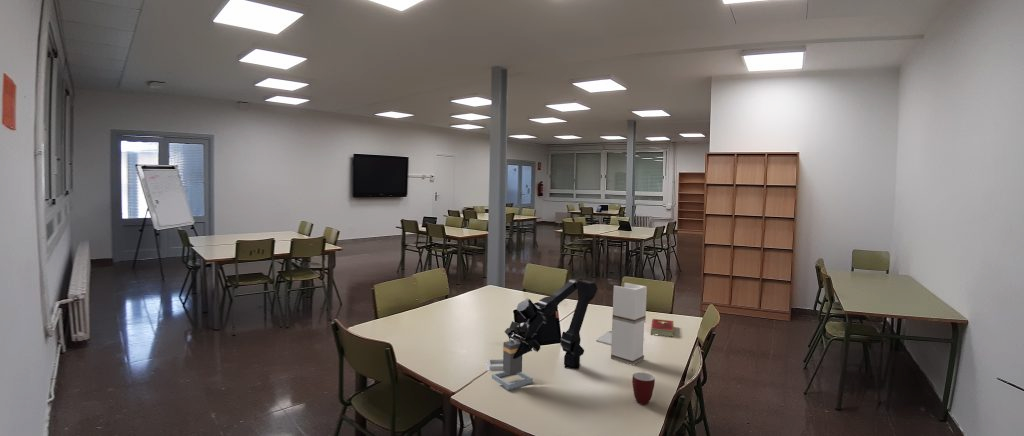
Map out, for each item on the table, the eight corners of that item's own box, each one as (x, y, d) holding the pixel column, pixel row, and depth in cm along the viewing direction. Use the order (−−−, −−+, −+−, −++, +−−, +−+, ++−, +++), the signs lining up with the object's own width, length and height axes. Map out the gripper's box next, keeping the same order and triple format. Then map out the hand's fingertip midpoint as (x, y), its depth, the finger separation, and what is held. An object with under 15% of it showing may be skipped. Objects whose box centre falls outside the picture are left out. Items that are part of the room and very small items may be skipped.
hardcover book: (650, 335, 263) (651, 328, 263) (651, 325, 283) (652, 318, 283) (673, 338, 259) (673, 330, 259) (673, 327, 279) (673, 320, 279)
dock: (511, 363, 215) (511, 358, 215) (514, 372, 205) (514, 366, 205) (484, 364, 213) (485, 358, 213) (486, 372, 203) (486, 367, 203)
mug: (635, 393, 187) (636, 368, 186) (656, 398, 183) (657, 372, 182) (629, 404, 177) (630, 378, 177) (651, 409, 174) (652, 382, 173)
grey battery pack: (514, 367, 198) (515, 336, 197) (522, 371, 194) (522, 339, 193) (502, 370, 195) (503, 338, 194) (509, 375, 190) (510, 342, 189)
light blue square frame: (515, 374, 203) (515, 368, 203) (532, 384, 193) (532, 378, 193) (491, 380, 196) (491, 374, 196) (508, 390, 186) (508, 384, 186)
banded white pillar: (643, 359, 224) (646, 286, 222) (632, 365, 216) (635, 289, 214) (622, 353, 232) (625, 282, 230) (610, 358, 224) (613, 285, 222)
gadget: (621, 349, 239) (621, 342, 239) (595, 342, 249) (596, 335, 249) (642, 339, 256) (643, 333, 255) (618, 333, 266) (618, 326, 266)
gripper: (508, 309, 202) (486, 338, 197) (535, 319, 187) (512, 352, 182) (522, 324, 208) (501, 353, 202) (550, 335, 192) (527, 367, 187)
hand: (510, 356), depth 193 cm, fingers closed on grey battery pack, 5 cm apart
